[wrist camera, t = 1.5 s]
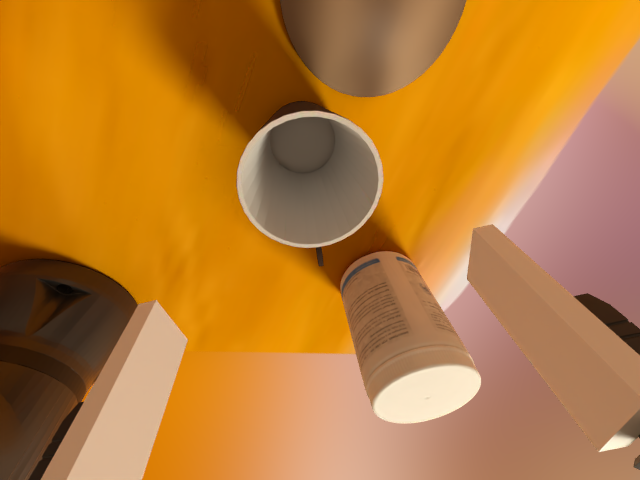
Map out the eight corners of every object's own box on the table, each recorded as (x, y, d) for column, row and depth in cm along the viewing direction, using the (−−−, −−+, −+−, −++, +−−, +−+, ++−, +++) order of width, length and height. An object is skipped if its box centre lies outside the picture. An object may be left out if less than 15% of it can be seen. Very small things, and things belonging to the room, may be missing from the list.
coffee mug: (265, 68, 22) (254, 84, 14) (366, 107, 24) (409, 141, 16) (237, 200, 28) (217, 266, 20) (320, 221, 30) (334, 289, 22)
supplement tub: (340, 309, 38) (366, 432, 26) (337, 252, 33) (368, 375, 21) (411, 299, 39) (469, 416, 27) (420, 242, 33) (498, 357, 21)
